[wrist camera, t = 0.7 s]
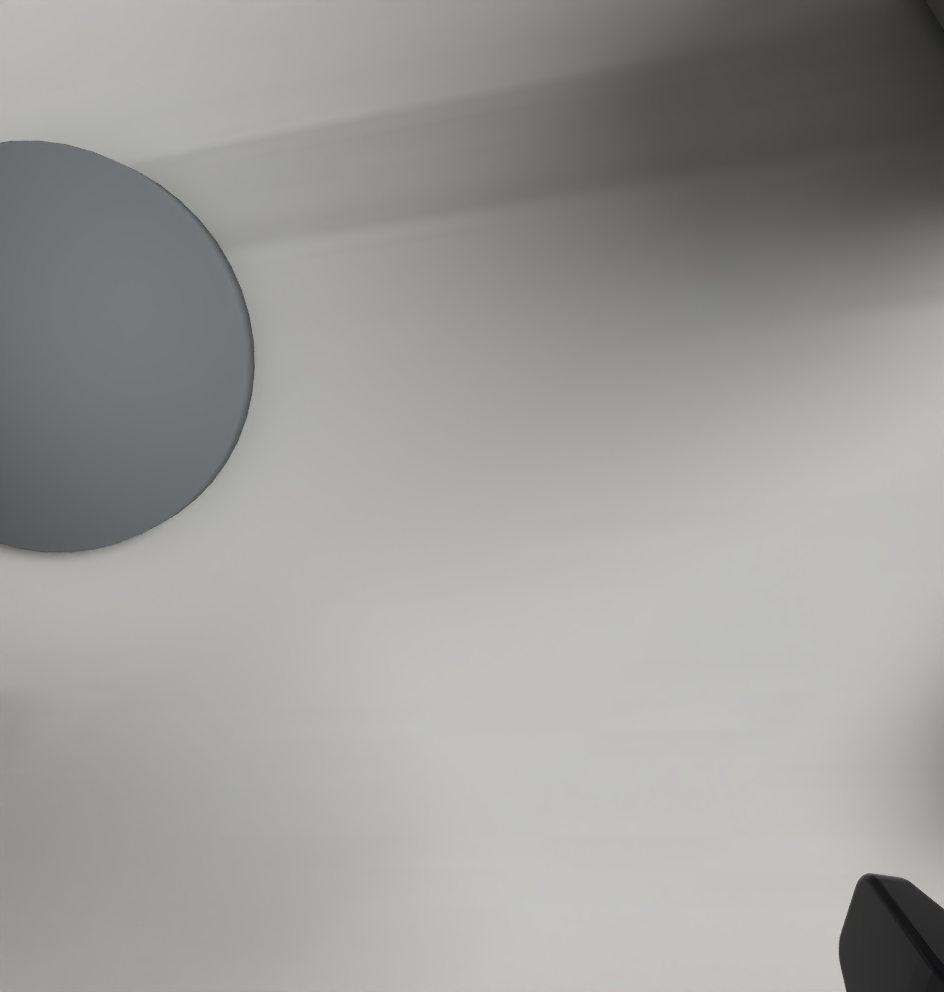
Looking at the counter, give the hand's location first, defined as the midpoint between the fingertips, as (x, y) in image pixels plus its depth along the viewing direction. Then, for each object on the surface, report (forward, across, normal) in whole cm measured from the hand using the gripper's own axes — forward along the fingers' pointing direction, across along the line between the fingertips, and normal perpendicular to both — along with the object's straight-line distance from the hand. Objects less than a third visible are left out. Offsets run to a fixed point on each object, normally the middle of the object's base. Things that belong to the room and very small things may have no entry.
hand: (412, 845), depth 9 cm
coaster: (+15, +11, -1) cm, 18 cm away
